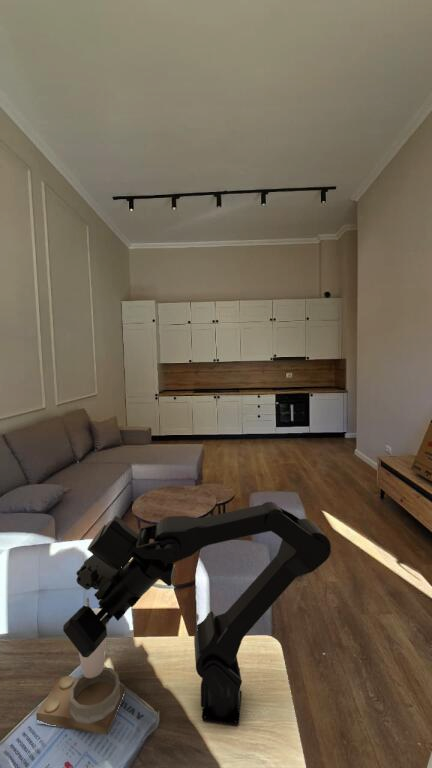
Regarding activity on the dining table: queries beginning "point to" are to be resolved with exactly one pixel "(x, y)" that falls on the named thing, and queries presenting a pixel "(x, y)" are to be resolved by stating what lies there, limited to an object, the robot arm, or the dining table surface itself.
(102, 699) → the seat board
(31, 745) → the dining table surface
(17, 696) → the dining table surface
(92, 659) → the smoothie
